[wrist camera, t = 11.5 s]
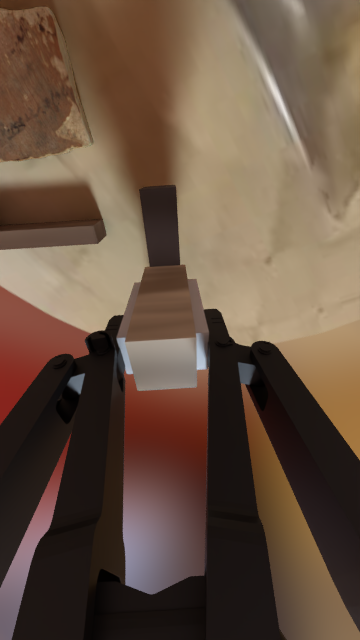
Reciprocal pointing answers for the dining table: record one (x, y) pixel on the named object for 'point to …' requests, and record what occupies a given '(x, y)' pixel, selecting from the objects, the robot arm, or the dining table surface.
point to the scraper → (162, 303)
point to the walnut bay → (51, 234)
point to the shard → (37, 88)
